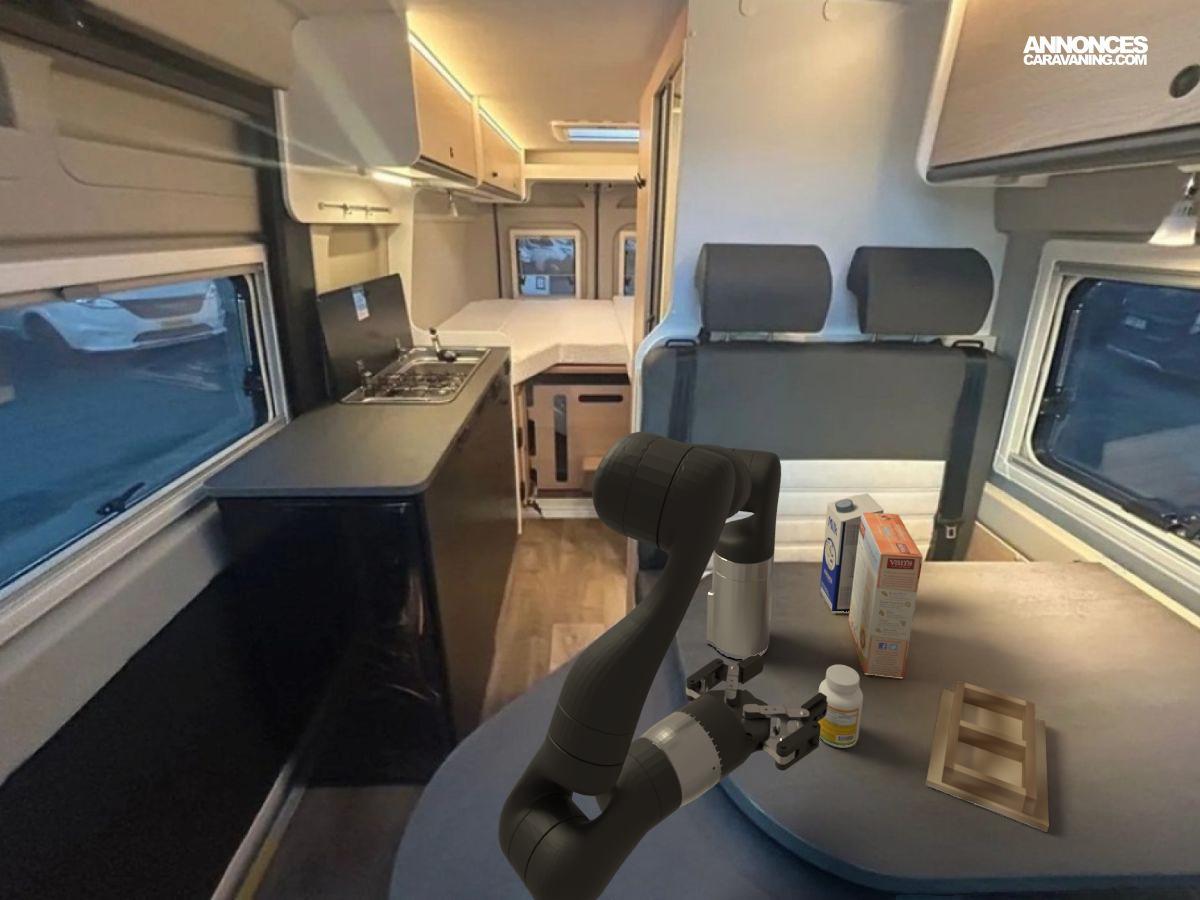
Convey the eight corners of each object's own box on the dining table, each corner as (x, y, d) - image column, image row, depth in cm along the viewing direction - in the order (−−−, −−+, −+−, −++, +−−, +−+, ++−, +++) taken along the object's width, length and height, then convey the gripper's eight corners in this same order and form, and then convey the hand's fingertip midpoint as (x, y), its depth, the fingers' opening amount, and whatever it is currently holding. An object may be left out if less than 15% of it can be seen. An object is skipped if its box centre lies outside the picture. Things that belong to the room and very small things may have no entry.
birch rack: (925, 786, 74) (929, 763, 73) (941, 694, 89) (945, 674, 87) (1047, 833, 68) (1053, 809, 67) (1043, 726, 82) (1048, 705, 81)
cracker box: (906, 681, 91) (925, 555, 84) (862, 677, 93) (878, 553, 86) (885, 625, 104) (900, 512, 97) (847, 621, 106) (859, 510, 99)
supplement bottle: (826, 713, 86) (832, 655, 83) (865, 733, 82) (872, 673, 79) (807, 735, 83) (812, 675, 79) (846, 757, 79) (854, 695, 76)
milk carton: (871, 614, 107) (884, 508, 101) (832, 615, 108) (842, 510, 101) (856, 591, 114) (867, 491, 107) (819, 592, 114) (828, 492, 108)
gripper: (748, 764, 55) (850, 685, 65) (643, 682, 66) (743, 624, 75) (744, 827, 58) (844, 743, 67) (644, 738, 69) (741, 675, 78)
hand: (790, 680), depth 71 cm, fingers open, 8 cm apart
